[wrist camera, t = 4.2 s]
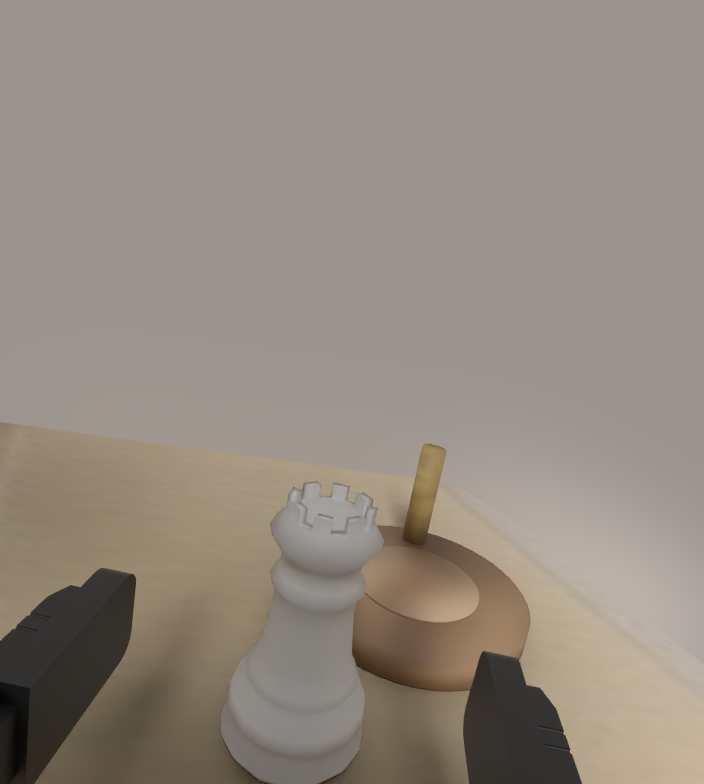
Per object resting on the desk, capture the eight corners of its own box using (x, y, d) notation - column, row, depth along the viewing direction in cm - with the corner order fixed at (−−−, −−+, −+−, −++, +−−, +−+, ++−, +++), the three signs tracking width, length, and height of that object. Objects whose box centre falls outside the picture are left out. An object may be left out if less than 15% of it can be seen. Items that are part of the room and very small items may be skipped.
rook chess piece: (206, 690, 18) (237, 468, 16) (329, 669, 20) (370, 468, 18) (235, 819, 14) (279, 548, 13) (384, 778, 16) (442, 537, 14)
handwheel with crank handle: (279, 658, 20) (306, 505, 19) (318, 531, 30) (337, 423, 29) (550, 716, 20) (598, 565, 18) (500, 568, 30) (529, 461, 28)
